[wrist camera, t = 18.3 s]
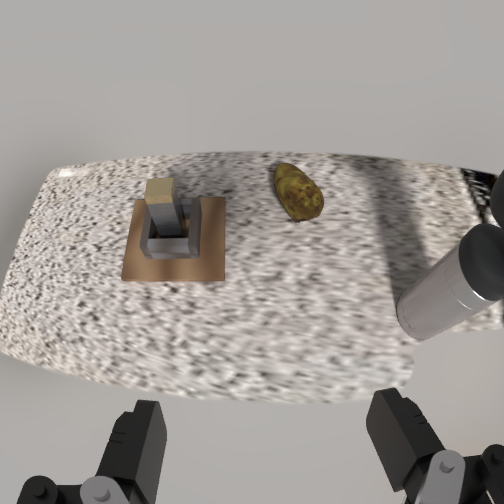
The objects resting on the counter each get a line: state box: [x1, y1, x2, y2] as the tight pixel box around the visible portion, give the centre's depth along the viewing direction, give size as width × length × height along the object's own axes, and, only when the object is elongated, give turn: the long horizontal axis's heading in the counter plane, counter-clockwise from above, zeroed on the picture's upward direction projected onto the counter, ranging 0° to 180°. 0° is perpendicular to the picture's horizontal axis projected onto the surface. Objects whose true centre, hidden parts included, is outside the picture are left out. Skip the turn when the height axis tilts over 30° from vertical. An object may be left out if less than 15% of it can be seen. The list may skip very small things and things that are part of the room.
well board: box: [121, 197, 225, 281], centre depth 47 cm, size 16×15×5 cm
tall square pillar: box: [144, 177, 186, 239], centre depth 43 cm, size 4×3×12 cm
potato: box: [274, 163, 324, 223], centre depth 50 cm, size 8×13×8 cm, turn 174°
